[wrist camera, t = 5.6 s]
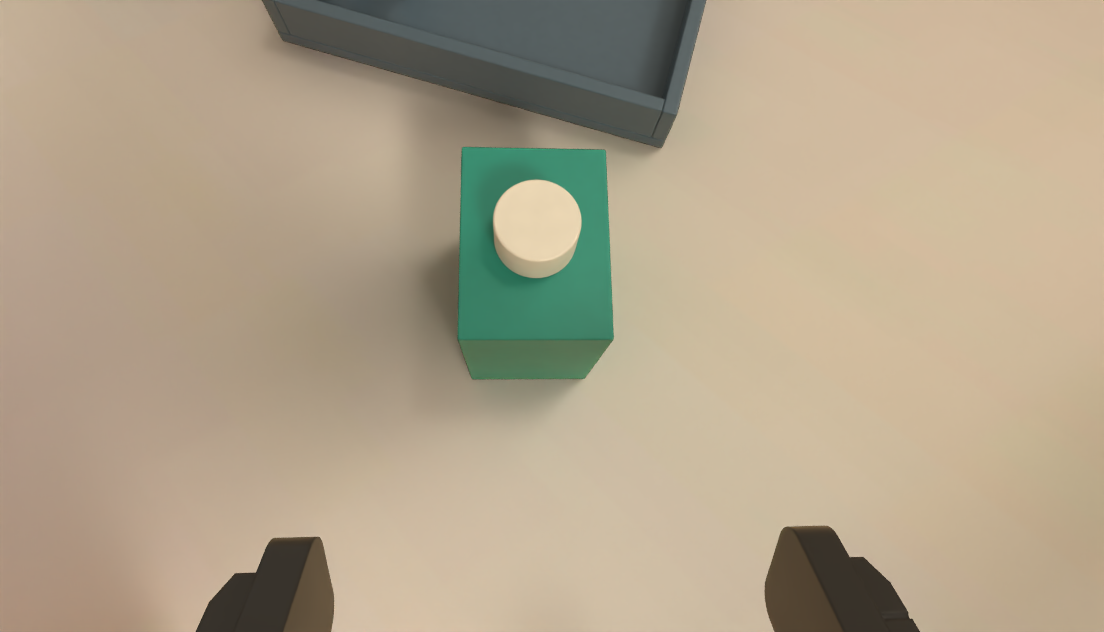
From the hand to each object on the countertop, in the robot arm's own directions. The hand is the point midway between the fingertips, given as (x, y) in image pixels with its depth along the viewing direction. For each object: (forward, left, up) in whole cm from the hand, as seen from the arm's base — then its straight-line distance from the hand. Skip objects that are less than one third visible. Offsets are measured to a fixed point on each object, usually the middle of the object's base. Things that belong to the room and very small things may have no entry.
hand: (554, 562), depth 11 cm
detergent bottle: (+2, -8, -12) cm, 15 cm away
